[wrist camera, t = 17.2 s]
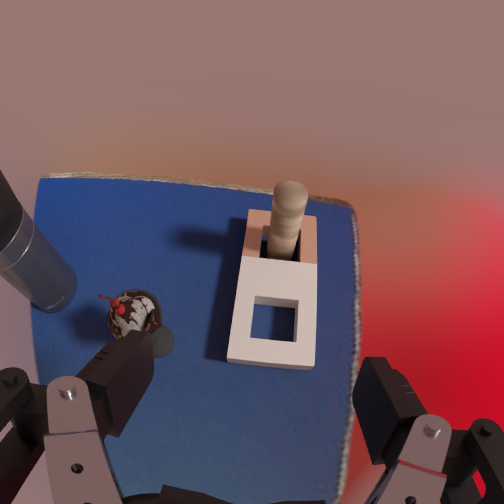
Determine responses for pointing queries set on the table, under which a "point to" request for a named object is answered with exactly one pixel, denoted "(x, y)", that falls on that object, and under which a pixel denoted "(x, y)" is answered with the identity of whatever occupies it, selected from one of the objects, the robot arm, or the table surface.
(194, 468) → the table surface
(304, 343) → the dock board
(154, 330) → the sundae
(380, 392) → the robot arm
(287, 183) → the peg
